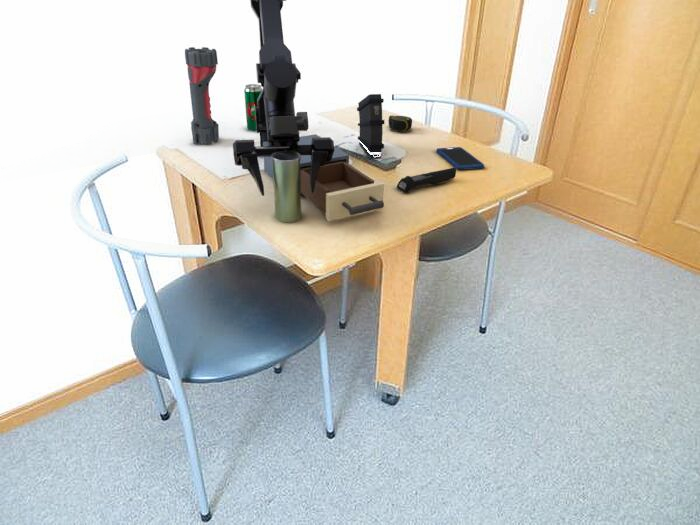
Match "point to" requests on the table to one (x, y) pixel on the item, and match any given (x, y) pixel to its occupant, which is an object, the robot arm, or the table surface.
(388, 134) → the table surface
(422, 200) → the table surface
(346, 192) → the drawer
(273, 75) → the robot arm
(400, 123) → the tape measure
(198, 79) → the flashlight
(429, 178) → the electric trimmer
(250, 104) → the soda can
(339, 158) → the cabinet
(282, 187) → the tea tin
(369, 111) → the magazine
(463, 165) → the cell phone
